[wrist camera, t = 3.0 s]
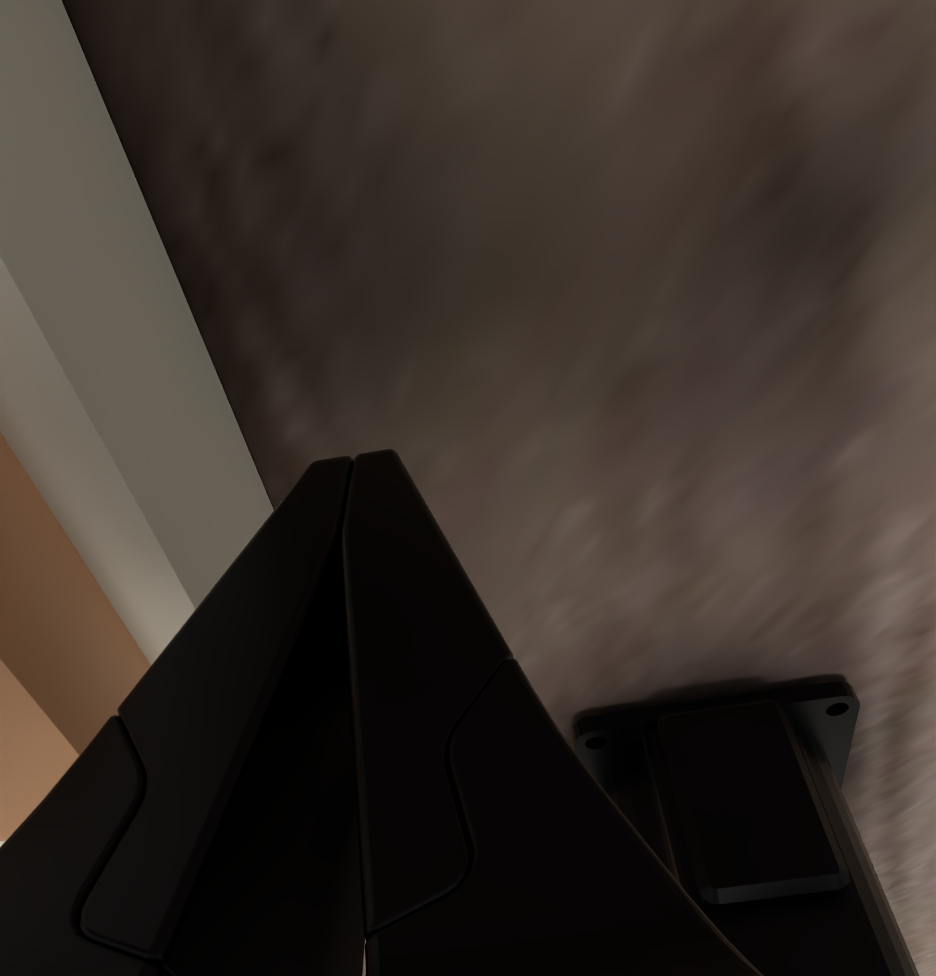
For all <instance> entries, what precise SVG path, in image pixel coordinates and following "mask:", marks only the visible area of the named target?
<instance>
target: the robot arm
mask: <svg viewBox="0 0 936 976" xmlns="http://www.w3.org/2000/svg"><path fill="white" fill-rule="evenodd" d="M859 707H860V704H859V700H858V698H857V696H856V694H855V692H854V690H853V688H852V686H851V685H849V684H848V683H845V682H828V683H821V684H814V685H807V686H800V687H793V688H786V689H779V690H772V691H764V692H757V693H750V694H743V695H736V696H729V697H722V698H715V699H708V700H701V701H694V702H686V703H679V704H672V705H665V706H658V707H651V708H644V709H637V710H630V711H623V712H616V713H609V714H601V715H594V716H589V717H586V718H583V719H581V720H579V721H577V722H576V724H575V725H574V726H573V730H572V733H573V740H574V747H575V751H574V750H573V748H572V747H571V746H570V744H569V743H568V742H567V740H566V739H565V738H564V736H563V735H562V733H561V732H560V731H559V729H558V727H557V726H556V724H555V723H554V721H553V720H552V718H551V716H550V715H549V713H548V712H547V710H546V708H545V707H544V705H543V704H542V702H541V701H540V699H539V697H538V696H537V694H536V693H535V691H534V689H533V688H532V686H531V684H530V683H529V681H528V679H527V677H526V676H525V674H524V672H523V671H522V669H521V667H520V665H519V664H518V662H517V660H515V659H514V658H513V654H512V652H511V650H510V649H509V647H508V645H507V643H506V642H505V640H504V638H503V637H502V635H501V633H500V631H499V630H498V628H497V626H496V624H495V623H494V621H493V619H492V617H491V616H490V614H489V612H488V610H487V609H486V607H485V605H484V603H483V602H482V600H481V598H480V597H479V595H478V593H477V591H476V590H475V588H474V586H473V584H472V583H471V581H470V579H469V577H468V576H467V574H466V572H465V570H464V569H463V567H462V565H461V563H460V562H459V560H458V558H457V557H456V555H455V553H454V551H453V550H452V548H451V546H450V544H449V543H448V541H447V539H446V537H445V536H444V534H443V532H442V530H441V529H440V527H439V525H438V523H437V522H436V520H435V518H434V516H433V515H432V513H431V511H430V510H429V508H428V506H427V504H426V503H425V501H424V499H423V497H422V496H421V494H420V492H419V490H418V489H417V487H416V485H415V483H414V482H413V480H412V478H411V476H410V475H409V473H408V471H407V470H406V468H405V466H404V464H403V463H402V461H401V459H400V457H399V456H398V454H397V453H396V452H395V451H394V450H392V449H387V450H380V451H374V452H368V453H362V454H359V455H357V456H356V457H355V459H353V458H352V457H350V456H343V457H336V458H330V459H323V460H318V461H315V462H313V463H312V464H310V466H309V467H308V468H307V469H306V470H305V472H304V473H303V474H302V475H301V477H300V478H299V479H298V480H297V482H296V483H295V484H294V486H293V487H292V488H291V489H290V491H289V492H288V493H287V494H286V496H285V497H284V498H283V499H282V501H281V502H280V503H279V505H278V506H277V507H276V508H275V510H274V511H273V512H272V513H271V515H270V516H269V517H268V518H267V520H266V521H265V522H264V524H263V525H262V526H261V527H260V529H259V530H258V531H257V532H256V534H255V535H254V536H253V537H252V539H251V540H250V541H249V542H248V544H247V545H246V546H245V548H244V549H243V550H242V551H241V553H240V554H239V555H238V556H237V558H236V559H235V560H234V561H233V563H232V564H231V565H230V567H229V568H228V569H227V570H226V572H225V573H224V574H223V575H222V577H221V578H220V579H219V580H218V582H217V583H216V584H215V585H214V587H213V588H212V589H211V591H210V592H209V593H208V594H207V596H206V597H205V598H204V599H203V601H202V602H201V603H200V604H199V606H198V607H197V608H196V610H195V611H194V612H193V613H192V615H191V616H190V617H189V618H188V620H187V621H186V622H185V623H184V625H183V626H182V627H181V629H180V630H179V631H178V632H177V634H176V635H175V636H174V637H173V639H172V640H171V641H170V642H169V644H168V645H167V646H166V647H165V649H164V650H163V651H162V653H161V654H160V655H159V656H158V658H157V659H156V660H155V661H154V663H153V664H152V665H151V666H150V668H149V669H148V670H147V672H146V673H145V674H144V675H143V677H142V678H141V679H140V680H139V682H138V683H137V684H136V685H135V687H134V688H133V689H132V690H131V692H130V693H129V694H128V696H127V697H126V698H125V699H124V701H123V702H122V703H121V704H120V706H119V707H118V709H117V712H118V715H119V716H117V715H113V716H111V717H110V718H109V719H108V720H107V722H106V723H105V724H104V725H103V727H102V728H101V729H100V730H99V732H98V733H97V734H96V736H95V737H94V738H93V739H92V741H91V742H90V743H89V744H88V746H87V747H86V748H85V749H84V751H83V752H82V753H81V754H80V755H79V757H78V758H77V759H76V760H75V761H74V763H73V764H72V765H71V766H70V768H69V769H68V770H67V771H66V772H65V774H64V775H63V776H62V777H61V778H60V780H59V781H58V782H57V783H56V784H55V786H54V787H53V788H52V789H51V790H50V792H49V793H48V794H47V795H46V796H45V798H44V799H43V800H42V801H41V802H40V803H39V805H38V806H37V807H36V808H35V809H34V810H33V811H32V812H31V813H30V815H29V816H28V817H27V818H26V819H25V820H24V821H23V822H22V823H21V825H20V826H19V827H18V828H17V829H16V830H15V831H14V832H13V833H12V835H11V836H10V837H9V838H8V839H7V840H6V841H5V842H4V843H3V845H2V846H1V847H0V976H362V974H363V959H364V945H365V959H366V976H919V974H918V972H917V969H916V967H915V965H914V962H913V960H912V957H911V955H910V953H909V950H908V948H907V945H906V943H905V941H904V938H903V936H902V934H901V931H900V929H899V926H898V924H897V922H896V919H895V917H894V915H893V912H892V910H891V907H890V905H889V903H888V900H887V898H886V895H885V893H884V891H883V888H882V886H881V884H880V881H879V879H878V876H877V874H876V872H875V869H874V867H873V864H872V862H871V860H870V857H869V855H868V853H867V850H866V848H865V845H864V843H863V841H862V838H861V836H860V833H859V831H858V829H857V826H856V824H855V822H854V819H853V817H852V814H851V812H850V810H849V807H848V805H847V803H846V800H845V798H844V795H843V793H842V791H841V784H842V780H843V776H844V772H845V767H846V763H847V759H848V754H849V750H850V746H851V742H852V737H853V733H854V729H855V724H856V720H857V716H858V712H859ZM365 939H366V941H367V942H366V944H365Z"/></svg>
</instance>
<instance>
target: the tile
mask: <svg viewBox="0 0 936 976" xmlns="http://www.w3.org/2000/svg"><path fill="white" fill-rule="evenodd" d="M150 666H151V665H150V663H149V662H148V660H147V658H146V657H145V655H144V654H143V652H142V651H141V649H140V648H139V646H138V645H137V643H136V641H135V640H134V638H133V637H132V635H131V634H130V632H129V631H128V629H127V627H126V626H125V624H124V623H123V621H122V620H121V618H120V617H119V615H118V614H117V612H116V610H115V609H114V607H113V606H112V604H111V603H110V601H109V600H108V598H107V596H106V595H105V593H104V592H103V590H102V589H101V587H100V586H99V584H98V583H97V581H96V579H95V578H94V576H93V575H92V573H91V572H90V570H89V569H88V567H87V565H86V564H85V562H84V561H83V559H82V558H81V556H80V555H79V553H78V552H77V550H76V548H75V547H74V545H73V544H72V542H71V541H70V539H69V538H68V536H67V535H66V533H65V531H64V530H63V528H62V527H61V525H60V524H59V522H58V521H57V519H56V517H55V516H54V514H53V513H52V511H51V510H50V508H49V507H48V505H47V504H46V502H45V500H44V499H43V497H42V496H41V494H40V493H39V491H38V490H37V488H36V486H35V485H34V483H33V482H32V480H31V479H30V477H29V476H28V474H27V473H26V471H25V469H24V468H23V466H22V465H21V463H20V462H19V460H18V459H17V457H16V455H15V454H14V452H13V451H12V449H11V448H10V446H9V445H8V443H7V442H6V440H5V438H4V437H3V435H2V434H1V432H0V841H6V840H7V839H8V838H9V837H10V836H11V835H12V833H13V832H14V831H15V830H16V829H17V828H18V827H19V826H20V825H21V823H22V822H23V821H24V820H25V819H26V818H27V817H28V816H29V815H30V813H31V812H32V811H33V810H34V809H35V808H36V807H37V806H38V805H39V803H40V802H41V801H42V800H43V799H44V798H45V796H46V795H47V794H48V793H49V792H50V790H51V789H52V788H53V787H54V786H55V784H56V783H57V782H58V781H59V780H60V778H61V777H62V776H63V775H64V774H65V772H66V771H67V770H68V769H69V768H70V766H71V765H72V764H73V763H74V761H75V760H76V759H77V758H78V757H79V755H80V754H81V753H82V752H83V751H84V749H85V748H86V747H87V746H88V744H89V743H90V742H91V741H92V739H93V738H94V737H95V736H96V734H97V733H98V732H99V730H100V729H101V728H102V727H103V725H104V724H105V723H106V722H107V720H108V719H109V718H110V717H111V716H113V715H117V716H119V715H118V712H117V709H118V707H119V706H120V704H121V703H122V702H123V701H124V699H125V698H126V697H127V696H128V694H129V693H130V692H131V690H132V689H133V688H134V687H135V685H136V684H137V683H138V682H139V680H140V679H141V678H142V677H143V675H144V674H145V673H146V672H147V670H148V669H149V668H150Z"/></svg>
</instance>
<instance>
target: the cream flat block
mask: <svg viewBox="0 0 936 976" xmlns="http://www.w3.org/2000/svg"><path fill="white" fill-rule="evenodd" d="M0 432H1V434H2V435H3V437H4V438H5V440H6V442H7V443H8V445H9V446H10V448H11V449H12V451H13V452H14V454H15V455H16V457H17V459H18V460H19V462H20V463H21V465H22V466H23V468H24V469H25V471H26V473H27V474H28V476H29V477H30V479H31V480H32V482H33V483H34V485H35V486H36V488H37V490H38V491H39V493H40V494H41V496H42V497H43V499H44V500H45V502H46V504H47V505H48V507H49V508H50V510H51V511H52V513H53V514H54V516H55V517H56V519H57V521H58V522H59V524H60V525H61V527H62V528H63V530H64V531H65V533H66V535H67V536H68V538H69V539H70V541H71V542H72V544H73V545H74V547H75V548H76V550H77V552H78V553H79V555H80V556H81V558H82V559H83V561H84V562H85V564H86V565H87V567H88V569H89V570H90V572H91V573H92V575H93V576H94V578H95V579H96V581H97V583H98V584H99V586H100V587H101V589H102V590H103V592H104V593H105V595H106V596H107V598H108V600H109V601H110V603H111V604H112V606H113V607H114V609H115V610H116V612H117V614H118V615H119V617H120V618H121V620H122V621H123V623H124V624H125V626H126V627H127V629H128V631H129V632H130V634H131V635H132V637H133V638H134V640H135V641H136V643H137V645H138V646H139V648H140V649H141V651H142V652H143V654H144V655H145V657H146V658H147V660H148V662H149V663H150V665H152V664H153V663H154V661H155V660H156V659H157V658H158V656H159V655H160V654H161V653H162V651H163V650H164V649H165V647H166V646H167V645H168V644H169V642H170V641H171V640H172V639H173V637H174V636H175V635H176V634H177V632H178V631H179V630H180V629H181V627H182V626H183V625H184V623H185V622H186V621H187V620H188V618H189V617H190V616H191V615H192V613H193V612H194V611H195V610H196V608H197V607H198V606H199V604H200V603H201V602H202V601H203V599H204V598H205V597H206V596H207V594H208V593H209V592H210V591H211V589H212V588H213V587H214V585H215V584H216V583H217V582H218V580H219V579H220V578H221V577H222V575H223V574H224V573H225V572H226V570H227V569H228V568H229V567H230V565H231V564H232V563H233V561H234V560H235V559H236V558H237V556H238V555H239V554H240V553H241V551H242V550H243V549H244V548H245V546H246V545H247V544H248V542H249V541H250V540H251V539H252V537H253V536H254V535H255V534H256V532H257V531H258V530H259V529H260V527H261V526H262V525H263V524H264V522H265V521H266V520H267V518H268V517H269V516H270V515H271V513H272V512H273V511H274V510H273V507H272V505H271V502H270V500H269V498H268V495H267V493H266V490H265V488H264V486H263V483H262V481H261V478H260V476H259V474H258V471H257V469H256V466H255V464H254V462H253V459H252V457H251V454H250V452H249V450H248V447H247V445H246V442H245V440H244V438H243V435H242V433H241V430H240V428H239V426H238V423H237V421H236V418H235V416H234V414H233V411H232V409H231V406H230V404H229V402H228V399H227V397H226V394H225V392H224V389H223V387H222V385H221V382H220V380H219V377H218V375H217V373H216V370H215V368H214V365H213V363H212V361H211V358H210V356H209V353H208V351H207V349H206V346H205V344H204V341H203V339H202V337H201V334H200V332H199V329H198V327H197V325H196V322H195V320H194V317H193V315H192V313H191V310H190V308H189V305H188V303H187V301H186V298H185V296H184V293H183V291H182V289H181V286H180V284H179V281H178V279H177V277H176V274H175V272H174V269H173V267H172V265H171V262H170V260H169V257H168V255H167V253H166V250H165V248H164V245H163V243H162V240H161V238H160V236H159V233H158V231H157V228H156V226H155V224H154V221H153V219H152V216H151V214H150V212H149V209H148V207H147V204H146V202H145V200H144V197H143V195H142V192H141V190H140V188H139V185H138V183H137V180H136V178H135V176H134V173H133V171H132V168H131V166H130V164H129V161H128V159H127V156H126V154H125V152H124V149H123V147H122V144H121V142H120V140H119V137H118V135H117V132H116V130H115V128H114V125H113V123H112V120H111V118H110V116H109V113H108V111H107V108H106V106H105V104H104V101H103V99H102V96H101V94H100V92H99V89H98V87H97V84H96V82H95V79H94V77H93V75H92V72H91V70H90V67H89V65H88V63H87V60H86V58H85V55H84V53H83V51H82V48H81V46H80V43H79V41H78V39H77V36H76V34H75V31H74V29H73V27H72V24H71V22H70V19H69V17H68V15H67V12H66V10H65V7H64V5H63V3H62V0H0ZM4 842H5V841H0V847H1V846H2V845H3V843H4Z"/></svg>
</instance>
